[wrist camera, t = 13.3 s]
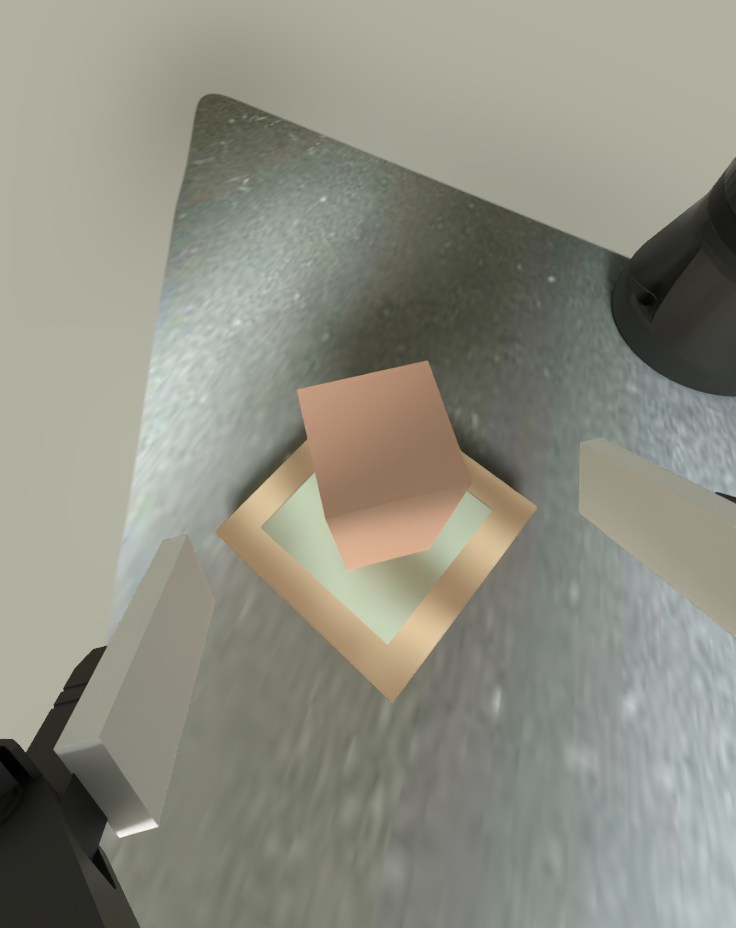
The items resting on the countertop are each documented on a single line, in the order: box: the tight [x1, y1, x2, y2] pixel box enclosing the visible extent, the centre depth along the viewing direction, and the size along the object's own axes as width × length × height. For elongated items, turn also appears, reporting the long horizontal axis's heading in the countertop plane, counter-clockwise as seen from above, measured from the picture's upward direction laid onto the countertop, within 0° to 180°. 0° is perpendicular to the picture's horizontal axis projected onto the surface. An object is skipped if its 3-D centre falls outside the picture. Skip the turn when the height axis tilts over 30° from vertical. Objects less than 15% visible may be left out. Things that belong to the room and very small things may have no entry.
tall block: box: [297, 360, 472, 571], centre depth 21 cm, size 5×5×12 cm
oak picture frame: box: [215, 439, 538, 703], centre depth 28 cm, size 14×14×3 cm
